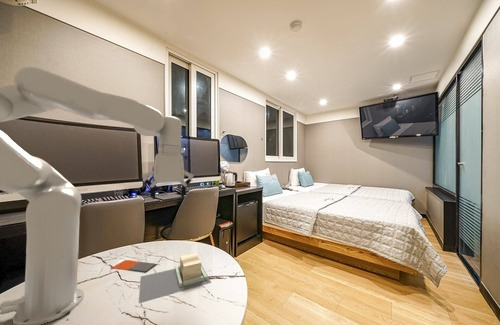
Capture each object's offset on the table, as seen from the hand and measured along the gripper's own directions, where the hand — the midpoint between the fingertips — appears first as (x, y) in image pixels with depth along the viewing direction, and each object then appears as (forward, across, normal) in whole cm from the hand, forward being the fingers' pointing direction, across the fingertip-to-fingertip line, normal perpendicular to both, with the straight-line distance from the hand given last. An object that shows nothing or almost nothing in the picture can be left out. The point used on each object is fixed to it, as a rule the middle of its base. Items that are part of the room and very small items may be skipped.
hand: (168, 197), depth 68 cm
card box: (+26, -7, +7) cm, 28 cm away
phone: (+27, +10, -8) cm, 30 cm away
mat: (+26, -2, +8) cm, 27 cm away
